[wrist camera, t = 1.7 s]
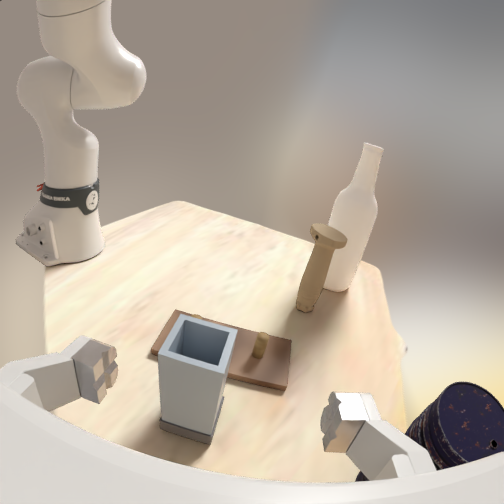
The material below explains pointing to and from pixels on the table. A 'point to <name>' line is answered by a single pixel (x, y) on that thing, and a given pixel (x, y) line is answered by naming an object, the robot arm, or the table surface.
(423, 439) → the black cylinder
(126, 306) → the table surface
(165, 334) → the pin board
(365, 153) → the alcohol
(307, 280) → the handle
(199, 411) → the sleeve
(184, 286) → the table surface
